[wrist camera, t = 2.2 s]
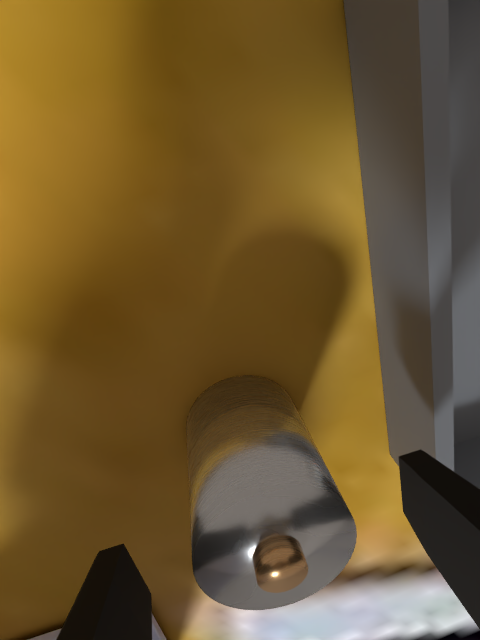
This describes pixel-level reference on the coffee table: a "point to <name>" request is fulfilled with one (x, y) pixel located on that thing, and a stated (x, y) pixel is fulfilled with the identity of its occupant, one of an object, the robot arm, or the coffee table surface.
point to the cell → (261, 499)
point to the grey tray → (423, 215)
